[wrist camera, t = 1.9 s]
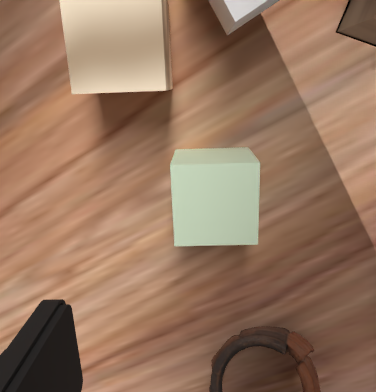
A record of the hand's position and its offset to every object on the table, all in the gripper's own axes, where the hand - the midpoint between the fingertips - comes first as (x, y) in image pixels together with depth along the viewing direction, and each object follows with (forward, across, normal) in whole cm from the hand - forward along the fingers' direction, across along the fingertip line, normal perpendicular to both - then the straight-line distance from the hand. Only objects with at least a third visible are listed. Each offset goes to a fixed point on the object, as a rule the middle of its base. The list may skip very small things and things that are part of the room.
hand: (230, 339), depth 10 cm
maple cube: (+16, +5, -10) cm, 19 cm away
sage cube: (+16, 0, 0) cm, 16 cm away
